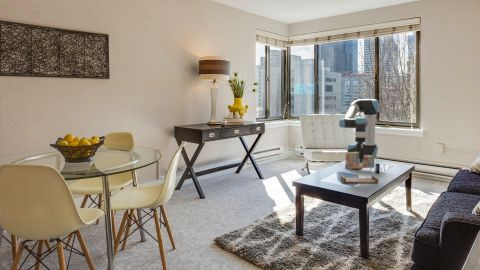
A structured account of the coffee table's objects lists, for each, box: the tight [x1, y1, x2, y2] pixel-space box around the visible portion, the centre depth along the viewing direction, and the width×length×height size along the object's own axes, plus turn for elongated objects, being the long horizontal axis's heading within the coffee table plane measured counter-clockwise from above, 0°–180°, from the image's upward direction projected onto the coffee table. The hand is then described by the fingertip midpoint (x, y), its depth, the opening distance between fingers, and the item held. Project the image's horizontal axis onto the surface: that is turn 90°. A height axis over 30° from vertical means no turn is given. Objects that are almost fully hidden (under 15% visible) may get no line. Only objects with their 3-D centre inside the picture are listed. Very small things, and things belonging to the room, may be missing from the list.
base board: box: [340, 174, 379, 185], centre depth 271 cm, size 12×26×4 cm, turn 85°
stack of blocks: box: [345, 151, 375, 170], centre depth 269 cm, size 21×6×12 cm, turn 100°
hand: (359, 165), depth 269 cm, fingers closed on stack of blocks, 7 cm apart
